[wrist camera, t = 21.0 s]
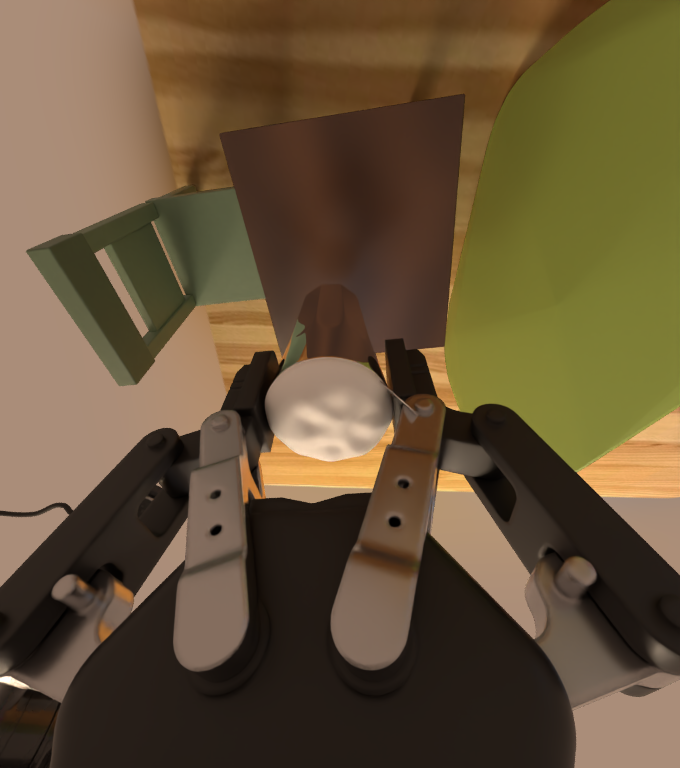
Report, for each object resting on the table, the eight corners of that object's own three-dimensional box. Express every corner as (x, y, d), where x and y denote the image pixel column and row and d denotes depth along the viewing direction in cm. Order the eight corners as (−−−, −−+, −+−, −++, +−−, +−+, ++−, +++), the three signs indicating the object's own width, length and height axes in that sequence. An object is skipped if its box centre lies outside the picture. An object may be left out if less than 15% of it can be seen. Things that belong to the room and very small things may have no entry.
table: (300, 295, 35) (283, 361, 25) (265, 125, 26) (218, 133, 17) (418, 281, 34) (445, 346, 24) (422, 100, 25) (465, 93, 16)
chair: (210, 277, 34) (118, 386, 20) (176, 185, 29) (24, 250, 15) (294, 267, 33) (256, 374, 19) (273, 171, 28) (203, 226, 14)
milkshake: (401, 312, 18) (450, 456, 11) (323, 359, 20) (315, 511, 12) (355, 241, 16) (374, 359, 8) (272, 302, 18) (222, 445, 10)
